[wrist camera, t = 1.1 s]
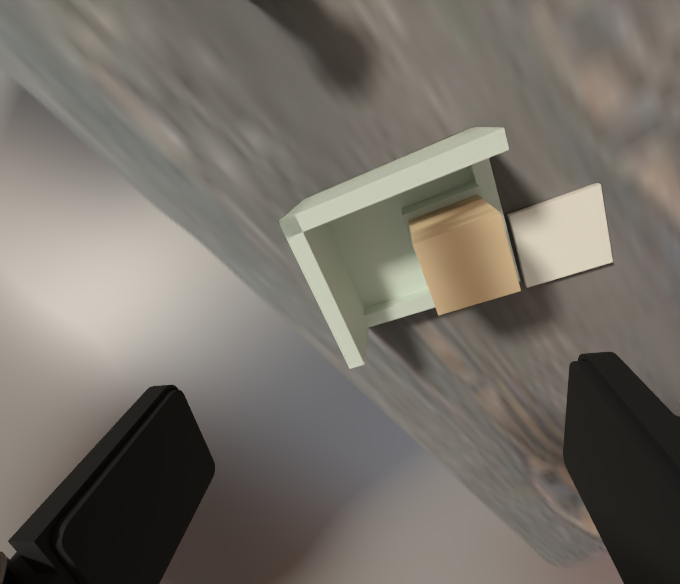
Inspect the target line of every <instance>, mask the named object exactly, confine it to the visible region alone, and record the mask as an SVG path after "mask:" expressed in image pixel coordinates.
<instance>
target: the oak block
mask: <svg viewBox="0 0 680 584" xmlns="http://www.w3.org/2000/svg"><path fill="white" fill-rule="evenodd" d="M408 221H409V227H410V232H411V237H412V242H413V246H414V249H415V252H416V254H417V257H418V260H419V263H420V266H421V268H422V271H423V274H424V277H425V280H426V282H427V285H428V288H429V291H430V294H431V296H432V299H433V302H434V305H435V307H436V310H437V313H438V316H439V315H442V314H445V313H449V312H452V311H455V310H459V309H462V308H465V307H469V306H472V305H476V304H479V303H482V302H486V301H489V300H492V299H496V298H499V297H502V296H506V295H509V294H512V293H516V292H519V291H521V289H520V285H519V282H518V278H517V274H516V270H515V266H514V262H513V258H512V255H511V251H510V247H509V243H508V239H507V235H506V231H505V228H504V224H503V220H502V216H501V213H500V212H499V211H498V210H496V209H495V208H494V207H493V206H491V205H490V204H489V203H488V202H486V201H485V200H484V199H483V198H481V197H480V196H479V195H474V196H471V197H469V198H466V199H463V200H461V201H458V202H455V203H453V204H450V205H447V206H445V207H442V208H439V209H437V210H434V211H432V212H429V213H426V214H424V215H421V216H418V217H416V218H413V219H410V220H408Z"/></svg>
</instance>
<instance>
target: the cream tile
mask: <svg viewBox="0 0 680 584" xmlns="http://www.w3.org/2000/svg"><path fill="white" fill-rule="evenodd" d="M507 216H508V220H509V224H510V228H511V232H512V236H513V240H514V244H515V248H516V252H517V256H518V260H519V264H520V268H521V272H522V276H523V280H524V284H525V286H526V287H527V288H528V287H531V286H535V285H538V284H541V283H545V282H548V281H552V280H555V279H558V278H562V277H565V276H568V275H572V274H575V273H578V272H582V271H585V270H588V269H592V268H595V267H598V266H602V265H605V264H608V263H612V262H613V260H612V253H611V247H610V240H609V234H608V228H607V221H606V215H605V208H604V202H603V195H602V189H601V184H599V183H595V184H592V185H589V186H586V187H584V188H581V189H578V190H575V191H572V192H569V193H567V194H564V195H561V196H558V197H555V198H553V199H550V200H547V201H544V202H541V203H538V204H536V205H533V206H530V207H527V208H524V209H521V210H519V211H516V212H513V213H510V214H507Z"/></svg>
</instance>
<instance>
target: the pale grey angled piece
mask: <svg viewBox="0 0 680 584" xmlns="http://www.w3.org/2000/svg"><path fill="white" fill-rule="evenodd" d="M507 150H509V147H508V143H507V139H506V135H505V130H504V128H495V127H472V128H470V129H467V130H465V131H463V132H460V133H458V134H456V135H453V136H451V137H449V138H446V139H444V140H442V141H439V142H437V143H434V144H432V145H430V146H427V147H425V148H423V149H420V150H418V151H416V152H413V153H411V154H409V155H406V156H404V157H402V158H399V159H397V160H395V161H392V162H390V163H388V164H385V165H383V166H380V167H378V168H376V169H373V170H371V171H369V172H366V173H364V174H362V175H359V176H357V177H355V178H352V179H350V180H348V181H345V182H343V183H341V184H338V185H336V186H334V187H331V188H329V189H326V190H324V191H322V192H319V193H317V194H315V195H312V196H310V197H308V198H305V199H304V200H303V201H302V202H300V203H299V204H298V205H297V206H296V207H295V208H293V209H292V210H291V211H290V212H289V213H288V214H287V215H285V216H284V217H283V218H282V219H281V220H280V221H278V222H279V224H280V226H281V228H282V230H283V232H284V234H285V236H286V238H287V240H288V242H289V244H290V247H291V249H292V251H293V253H294V255H295V257H296V259H297V261H298V263H299V265H300V267H301V269H302V271H303V273H304V275H305V277H306V280H307V282H308V284H309V286H310V288H311V290H312V292H313V294H314V296H315V298H316V300H317V302H318V304H319V306H320V308H321V311H322V313H323V315H324V317H325V319H326V321H327V323H328V325H329V327H330V329H331V331H332V333H333V335H334V337H335V339H336V341H337V344H338V346H339V348H340V350H341V352H342V354H343V356H344V358H345V360H346V362H347V364H348V366H349V368H350V369H351V368H354V367H358V366H361V365H365V356H366V346H367V337H368V328H369V327H372V326H375V325H379V324H382V323H385V322H389V321H392V320H395V319H398V318H402V317H405V316H408V315H412V314H415V313H418V312H421V311H425V310H428V309H431V308H435V305H434V302H433V299H432V296H431V294H430V291H429V288H428V285H427V282H426V280H425V277H424V274H423V271H422V268H421V266H420V263H419V260H418V257H417V254H416V252H415V249H414V246H413V242H412V237H411V232H410V227H409V221H408V220H410V219H413V218H416V217H418V216H421V215H424V214H426V213H429V212H432V211H434V210H437V209H439V208H442V207H445V206H447V205H450V204H453V203H455V202H458V201H461V200H463V199H466V198H469V197H471V196H474V195H479V196H480V197H481V198H483V199H484V200H485V201H486V202H488V203H489V204H490V205H491V206H493V207H494V208H495V209H496V210H498V211H499V212H500V213H501V216H502V220H503V224H504V228H505V231H506V235H507V239H508V243H509V247H510V251H511V255H512V258H513V262H514V266H515V270H516V274H517V278H518V282H520V277H519V273H518V269H517V265H516V262H515V258H514V254H513V250H512V246H511V242H510V238H509V234H508V230H507V227H506V223H505V219H504V215H503V211H502V207H501V203H500V199H499V195H498V192H497V188H496V184H495V180H494V176H493V172H492V168H491V164H490V160H489V158H490V157H492V156H495V155H497V154H500V153H502V152H505V151H507Z"/></svg>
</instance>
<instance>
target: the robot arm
mask: <svg viewBox="0 0 680 584" xmlns="http://www.w3.org/2000/svg"><path fill="white" fill-rule="evenodd" d="M563 456H564V461H565V465H566V468H567V470H568V472H569V474H570V476H571V478H572V480H573V482H574V484H575V486H576V488H577V490H578V492H579V494H580V496H581V498H582V500H583V502H584V504H585V506H586V508H587V510H588V512H589V514H590V516H591V518H592V520H593V522H594V524H595V526H596V528H597V530H598V532H599V534H600V536H601V538H602V540H603V542H604V544H605V546H606V548H607V550H608V552H609V554H610V556H611V558H612V560H613V562H614V564H615V566H616V568H617V570H618V572H619V575H620V576H621V578H622V581H623V582H624V584H680V417H679V416H676V415H674V414H673V413H672V412H671V411H670V410H669V409H668V408H667V407H666V406H665V405H664V404H663V403H662V402H661V401H660V400H659V398H658V397H657V396H656V395H655V394H654V393H653V392H652V391H651V390H650V389H649V388H648V387H647V386H646V385H645V384H644V383H643V382H642V381H641V380H640V379H639V378H638V377H637V375H636V374H635V373H634V372H633V371H632V370H631V369H630V368H629V367H628V366H627V365H626V364H625V363H624V362H623V361H622V360H621V359H620V358H619V357H618V356H617V355H616V354H615V353H613V352H600V353H587V354H581V355H580V356H579V357H578V361H573V362H571V363H570V367H569V380H568V393H567V407H566V421H565V434H564V448H563ZM214 472H215V463H214V461H213V458H212V456H211V454H210V451H209V449H208V447H207V445H206V443H205V440H204V438H203V436H202V434H201V431H200V429H199V427H198V425H197V423H196V420H195V418H194V416H193V413H192V411H191V409H190V407H189V405H188V403H187V400H186V398H185V396H184V394H183V392H182V391H181V390H178V388H177V387H176V386H174V385H163V386H153V387H150V388H148V389H147V390H146V391H145V392H144V393H143V395H142V396H141V397H140V398H139V399H138V400H137V401H136V402H135V403H134V404H133V405H132V406H131V408H130V409H129V410H128V411H127V412H126V413H125V414H124V415H123V416H122V417H121V418H120V420H119V421H118V422H117V423H116V424H115V425H114V426H113V427H112V428H111V430H110V431H109V432H108V433H107V434H106V435H105V436H104V437H103V438H102V439H101V440H100V441H99V442H98V444H97V445H96V446H95V447H94V448H93V449H92V450H91V451H90V452H89V453H88V455H87V456H86V457H85V458H84V459H83V460H82V461H81V462H80V463H79V464H78V465H77V466H76V468H75V469H74V470H73V471H72V472H71V473H70V474H69V475H68V476H67V477H66V479H65V480H64V481H63V482H62V483H61V484H60V485H59V486H58V487H57V488H56V489H55V490H54V492H53V493H52V494H51V495H50V496H49V497H48V498H47V499H46V500H45V501H44V502H43V503H42V505H41V506H40V507H39V508H38V509H37V510H36V511H35V512H34V513H33V514H32V515H31V517H30V518H29V519H28V520H27V521H26V522H25V523H24V524H23V525H22V526H21V528H20V529H19V530H18V531H17V532H16V533H15V534H14V535H13V536H12V537H11V538H10V540H9V541H8V542H9V543H10V544H11V545H12V546H13V548H14V549H15V550H16V551H17V552H16V553H15V555H14V556H13V557H12V558H11V559H10V560H9V559H8V557H7V556H6V555H5V554H4V553H3V552H0V584H159V583H160V581H161V579H162V577H163V575H164V573H165V571H166V569H167V567H168V565H169V563H170V561H171V559H172V557H173V555H174V553H175V551H176V549H177V547H178V545H179V543H180V541H181V540H182V538H183V536H184V533H185V532H186V529H187V528H188V526H189V524H190V522H191V520H192V518H193V516H194V513H195V512H196V510H197V508H198V506H199V504H200V502H201V499H202V498H203V496H204V494H205V492H206V490H207V488H208V486H209V484H210V482H211V480H212V478H213V476H214Z"/></svg>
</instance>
